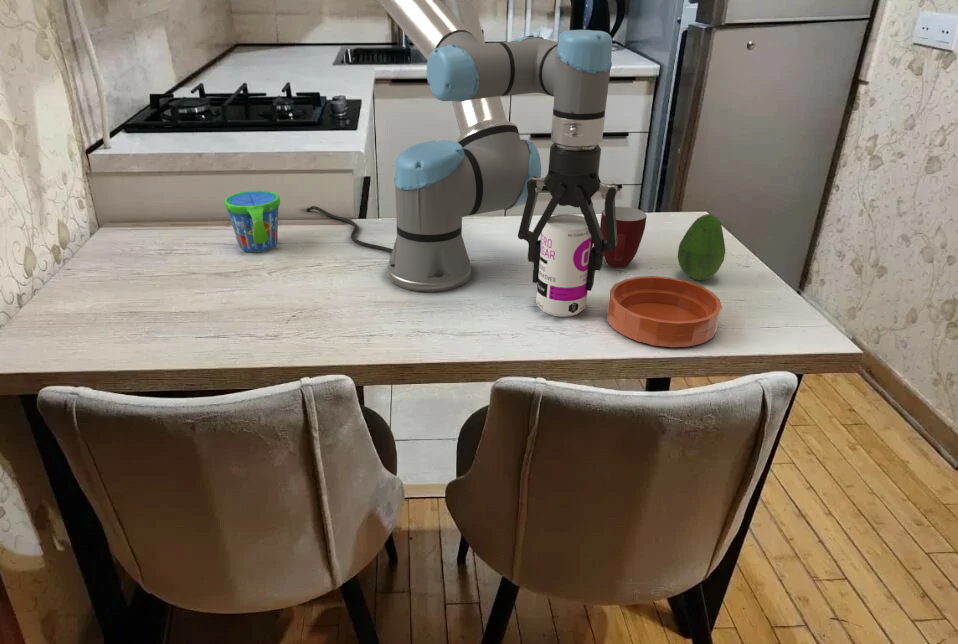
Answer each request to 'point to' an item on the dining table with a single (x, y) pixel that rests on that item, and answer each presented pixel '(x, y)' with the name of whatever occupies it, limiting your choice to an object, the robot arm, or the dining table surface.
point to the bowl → (663, 311)
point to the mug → (624, 235)
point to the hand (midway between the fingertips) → (562, 283)
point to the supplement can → (564, 265)
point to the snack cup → (254, 219)
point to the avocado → (702, 248)
